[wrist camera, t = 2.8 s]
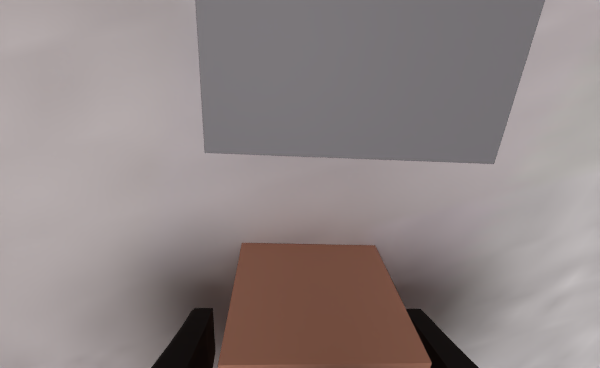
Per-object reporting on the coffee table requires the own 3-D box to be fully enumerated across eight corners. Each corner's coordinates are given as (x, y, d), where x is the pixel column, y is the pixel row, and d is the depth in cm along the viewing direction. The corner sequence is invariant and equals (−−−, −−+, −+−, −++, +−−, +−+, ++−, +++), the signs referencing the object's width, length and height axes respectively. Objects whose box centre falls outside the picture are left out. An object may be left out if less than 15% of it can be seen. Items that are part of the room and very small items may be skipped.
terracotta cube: (357, 339, 14) (394, 480, 9) (243, 340, 14) (224, 487, 9) (374, 244, 12) (431, 362, 8) (242, 241, 12) (217, 365, 7)
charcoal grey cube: (397, 112, 10) (494, 164, 6) (240, 104, 10) (205, 152, 5) (431, -82, 8) (622, -247, 4) (237, -101, 8) (177, -310, 3)
